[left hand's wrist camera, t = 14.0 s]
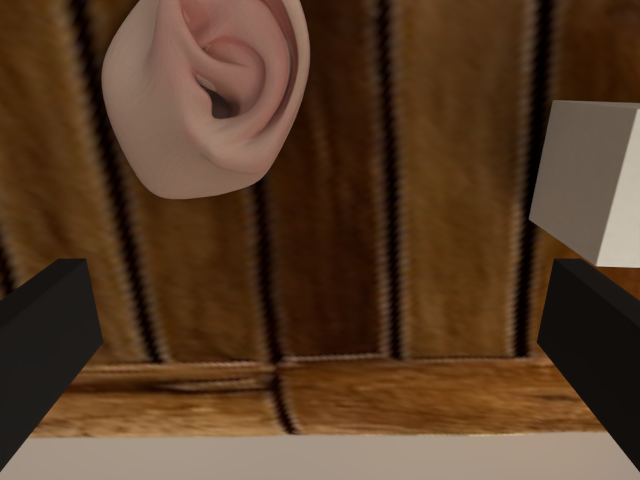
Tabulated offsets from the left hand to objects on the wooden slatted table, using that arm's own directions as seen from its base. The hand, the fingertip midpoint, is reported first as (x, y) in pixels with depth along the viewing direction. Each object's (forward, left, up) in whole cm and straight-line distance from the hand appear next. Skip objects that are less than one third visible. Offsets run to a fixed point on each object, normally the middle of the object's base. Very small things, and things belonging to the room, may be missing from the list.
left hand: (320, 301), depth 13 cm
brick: (0, +16, -15) cm, 22 cm away
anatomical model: (-6, -6, -15) cm, 17 cm away
